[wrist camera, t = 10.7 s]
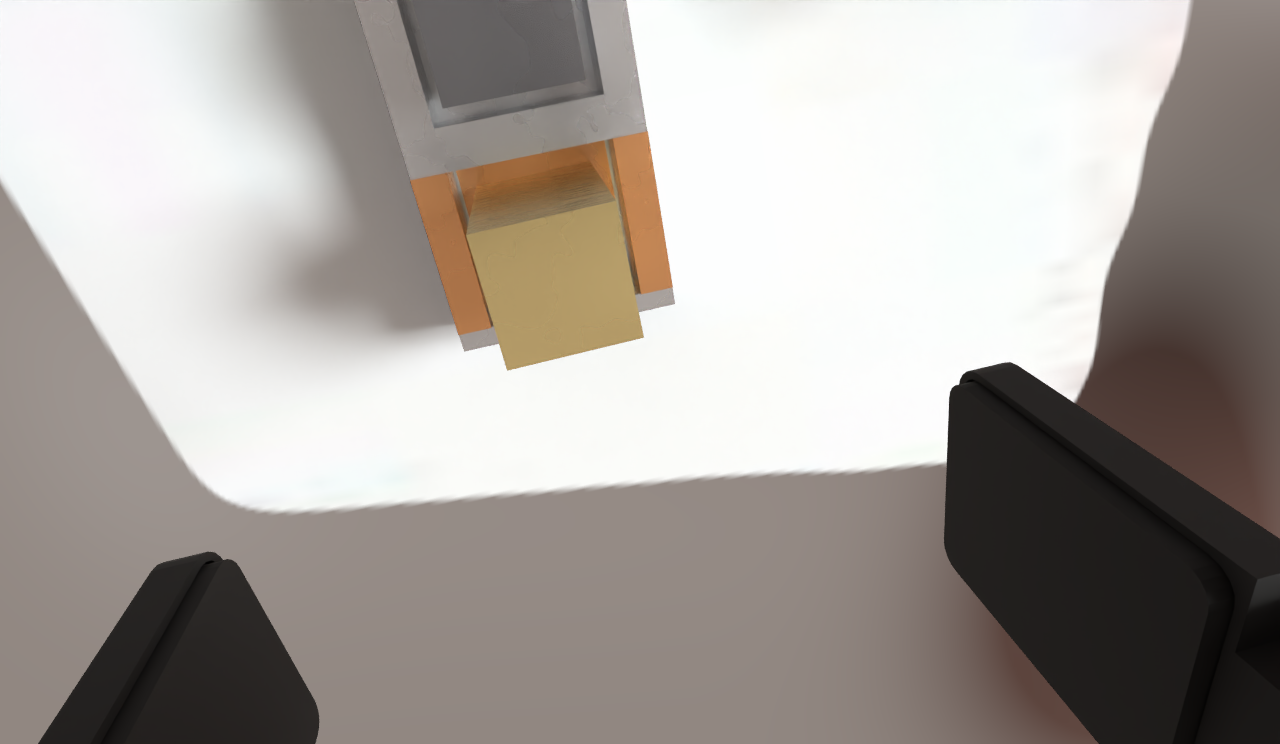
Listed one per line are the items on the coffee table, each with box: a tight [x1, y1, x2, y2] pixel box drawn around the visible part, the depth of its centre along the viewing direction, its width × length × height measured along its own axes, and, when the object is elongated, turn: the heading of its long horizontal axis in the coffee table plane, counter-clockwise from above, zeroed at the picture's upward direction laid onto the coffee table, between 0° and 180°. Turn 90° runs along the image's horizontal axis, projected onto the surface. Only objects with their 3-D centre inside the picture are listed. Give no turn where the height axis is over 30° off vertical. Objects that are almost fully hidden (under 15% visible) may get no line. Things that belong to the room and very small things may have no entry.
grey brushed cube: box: [412, 0, 586, 109], centre depth 21 cm, size 4×4×4 cm
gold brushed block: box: [466, 161, 644, 370], centre depth 23 cm, size 4×4×7 cm
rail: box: [354, 0, 675, 351], centre depth 23 cm, size 21×8×3 cm, turn 10°
